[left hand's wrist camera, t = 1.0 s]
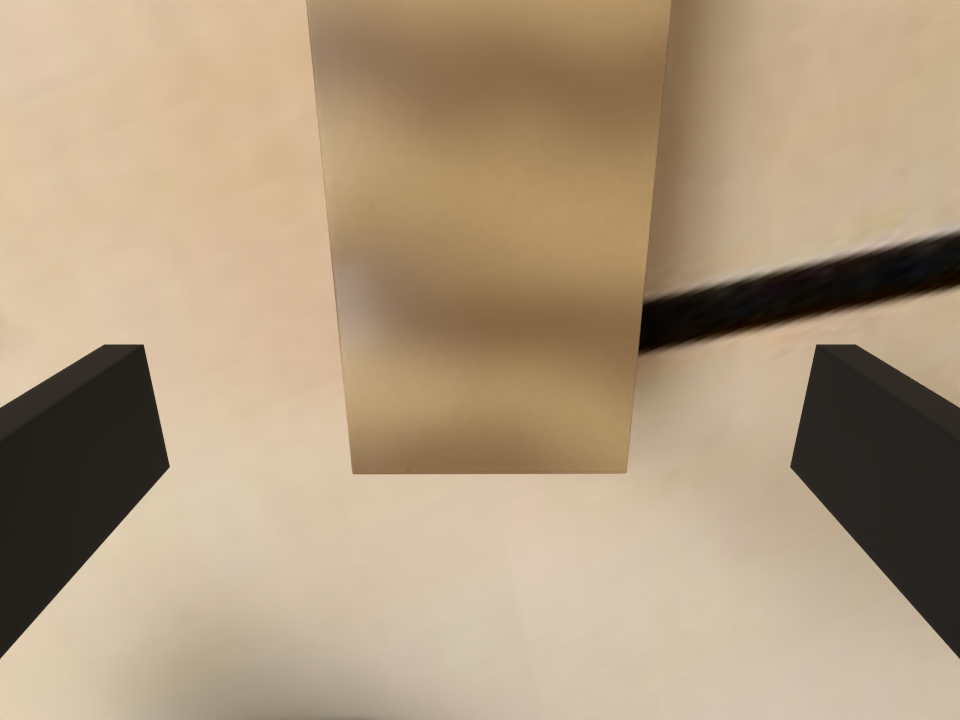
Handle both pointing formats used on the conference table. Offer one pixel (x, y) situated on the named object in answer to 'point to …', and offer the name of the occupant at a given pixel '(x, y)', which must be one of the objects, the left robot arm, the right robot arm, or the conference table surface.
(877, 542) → the left robot arm
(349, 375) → the slab
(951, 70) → the conference table surface
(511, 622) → the conference table surface
